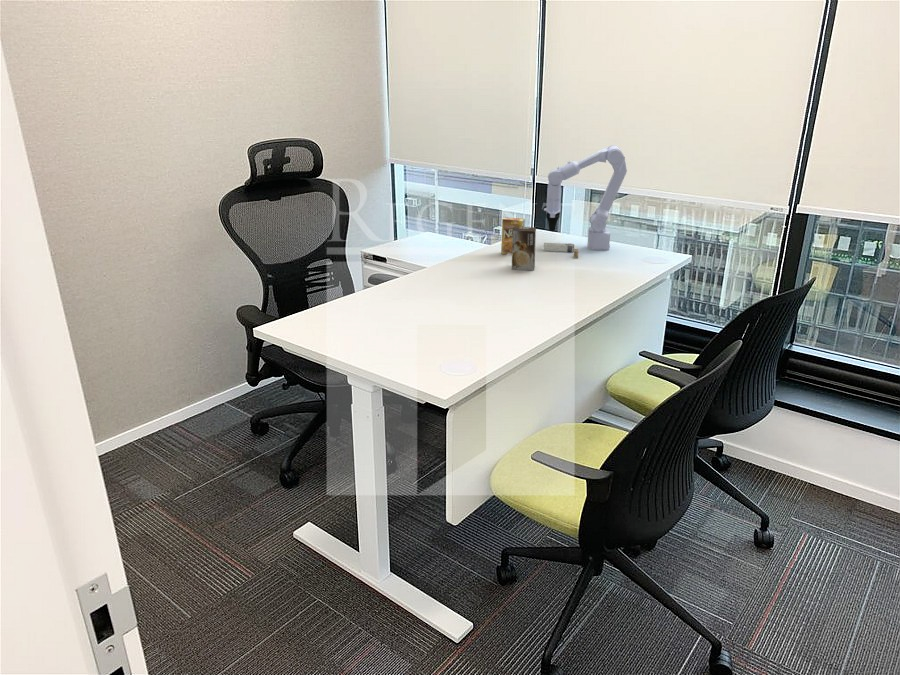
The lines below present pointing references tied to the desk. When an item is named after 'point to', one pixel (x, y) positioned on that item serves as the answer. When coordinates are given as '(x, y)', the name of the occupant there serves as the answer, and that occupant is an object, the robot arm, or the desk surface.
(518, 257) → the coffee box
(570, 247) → the bar
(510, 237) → the candy box
